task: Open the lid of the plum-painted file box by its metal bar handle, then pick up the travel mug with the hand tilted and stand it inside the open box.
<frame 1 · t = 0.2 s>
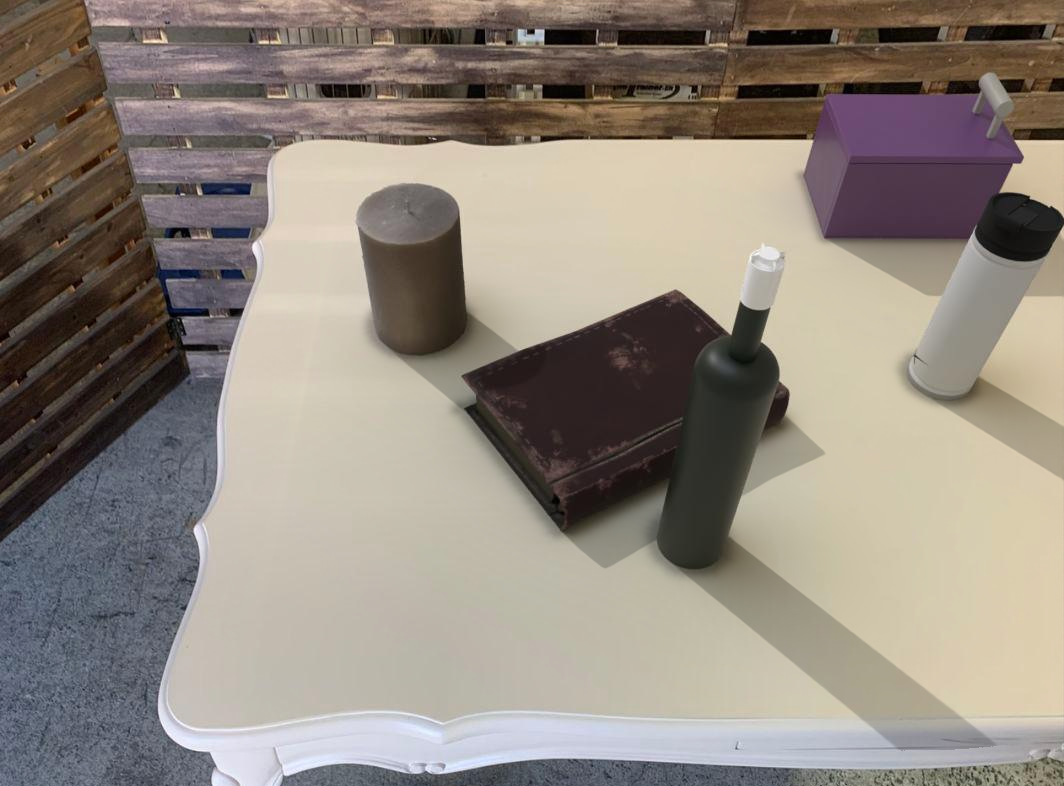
diary: (619, 419, 87), on the table
file box: (885, 210, 107), on the table
pillar candle: (420, 328, 94), on the table
travel mug: (935, 384, 90), on the table
lid: (927, 109, 97), point 12 cm above the table, hinge at 0.0°
wine bottle: (688, 546, 78), on the table
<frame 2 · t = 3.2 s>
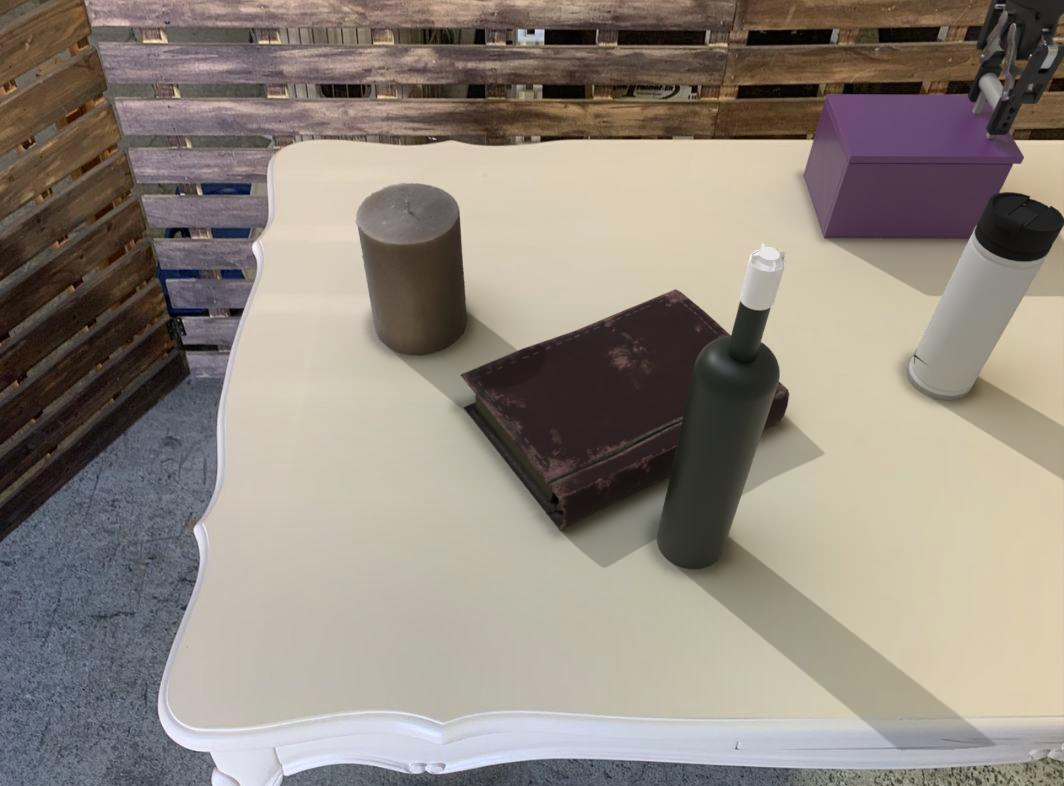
hand: (986, 115, 97), 12 cm above the table, tool pointing down, fingers closed on lid, 6 cm apart
lid: (927, 109, 97), point 12 cm above the table, hinge at 0.0°, touching gripper
everything else where it was.
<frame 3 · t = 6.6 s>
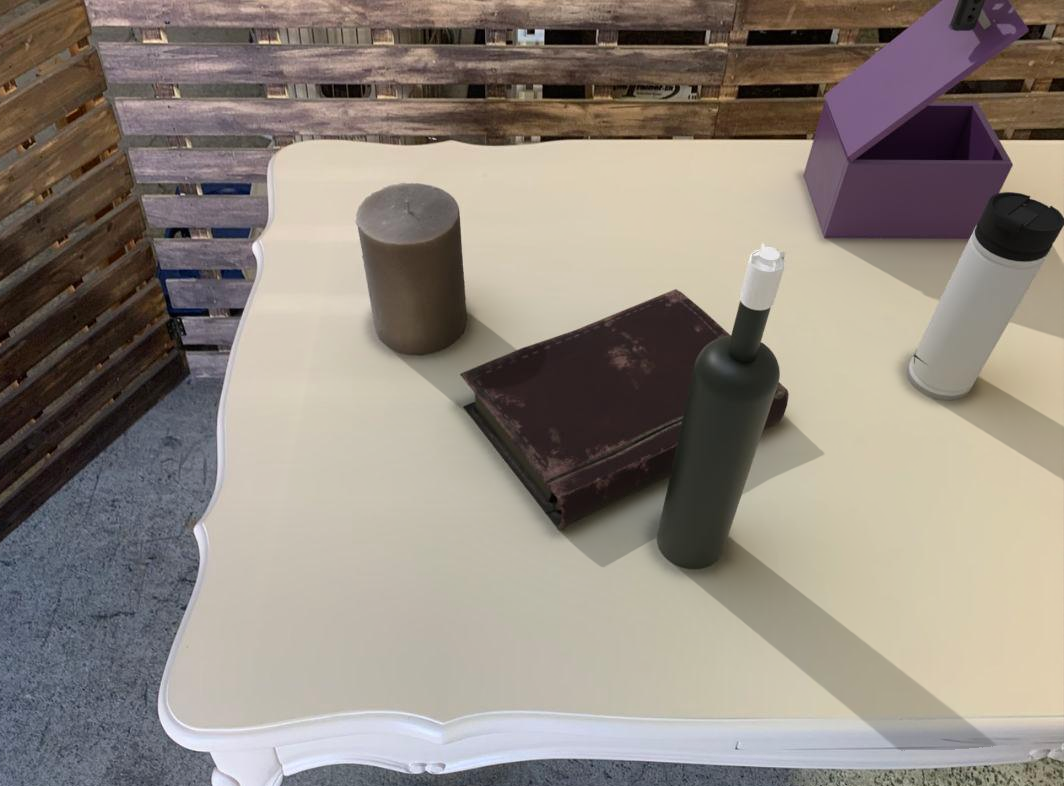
hand: (951, 12, 89), 22 cm above the table, tool pointing down, fingers closed on lid, 6 cm apart
lid: (907, 51, 92), point 18 cm above the table, hinge at 46.5°, touching gripper
everything else where it was.
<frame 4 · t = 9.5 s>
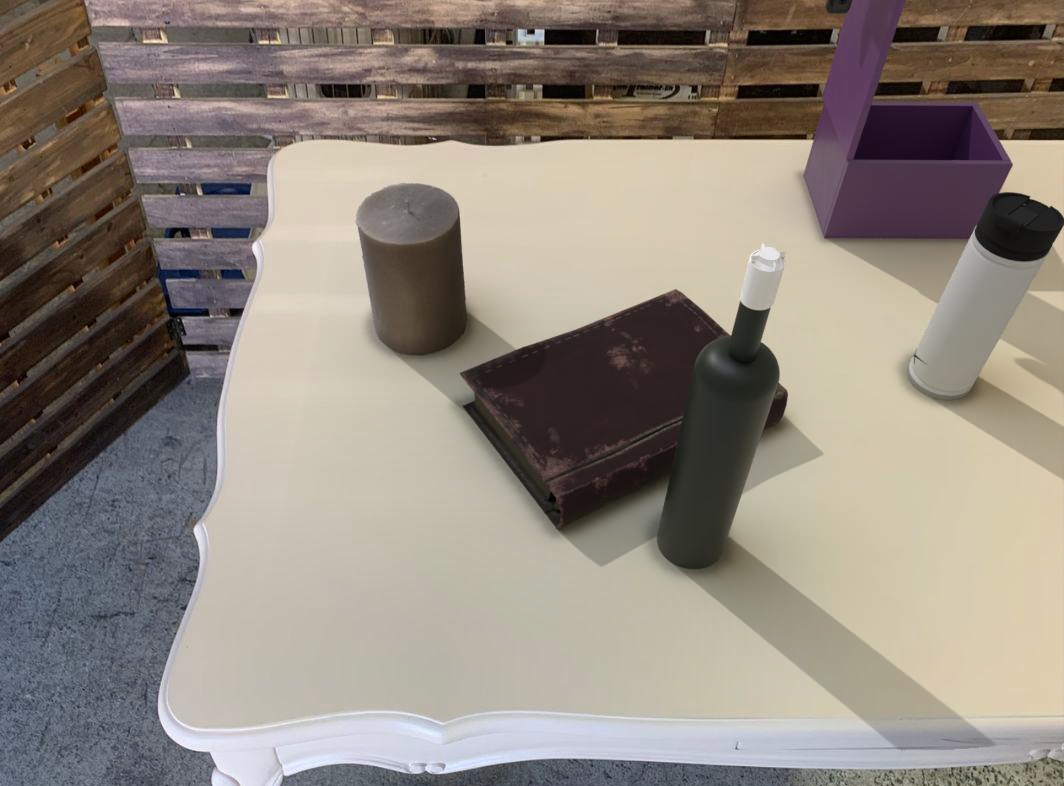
lid: (842, 40, 91), point 19 cm above the table, hinge at 90.1°, touching gripper
everything else where it was.
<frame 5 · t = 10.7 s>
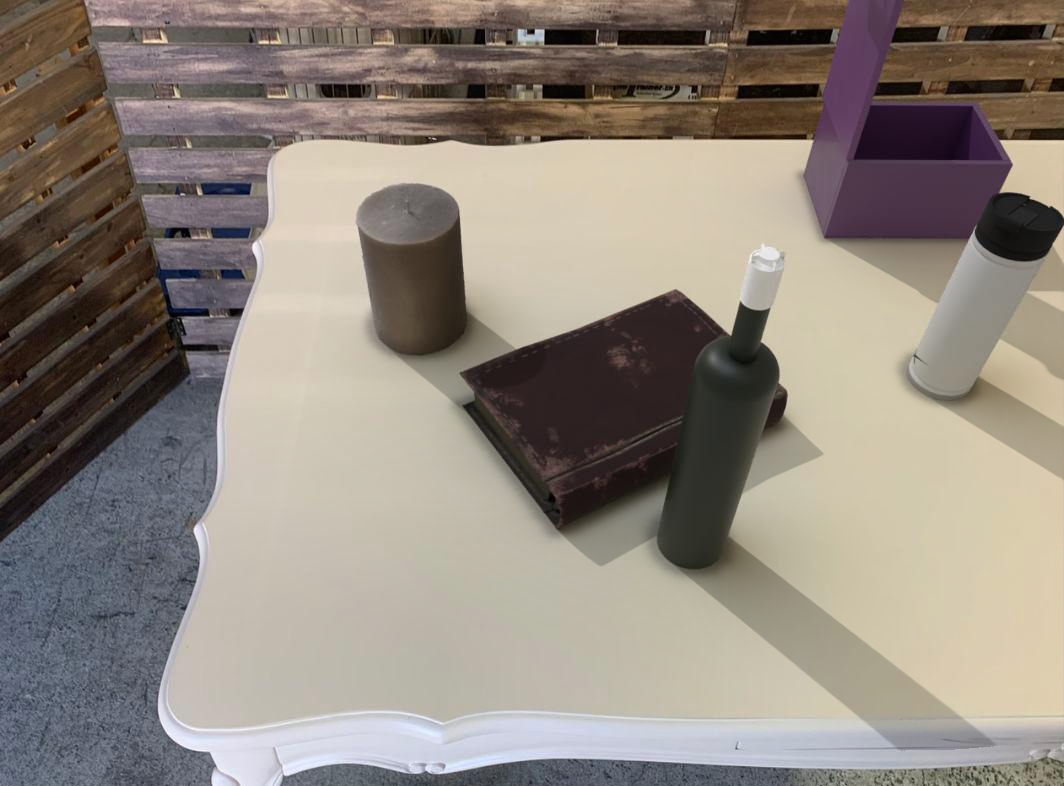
lid: (842, 40, 91), point 19 cm above the table, hinge at 90.4°, touching gripper
everything else where it was.
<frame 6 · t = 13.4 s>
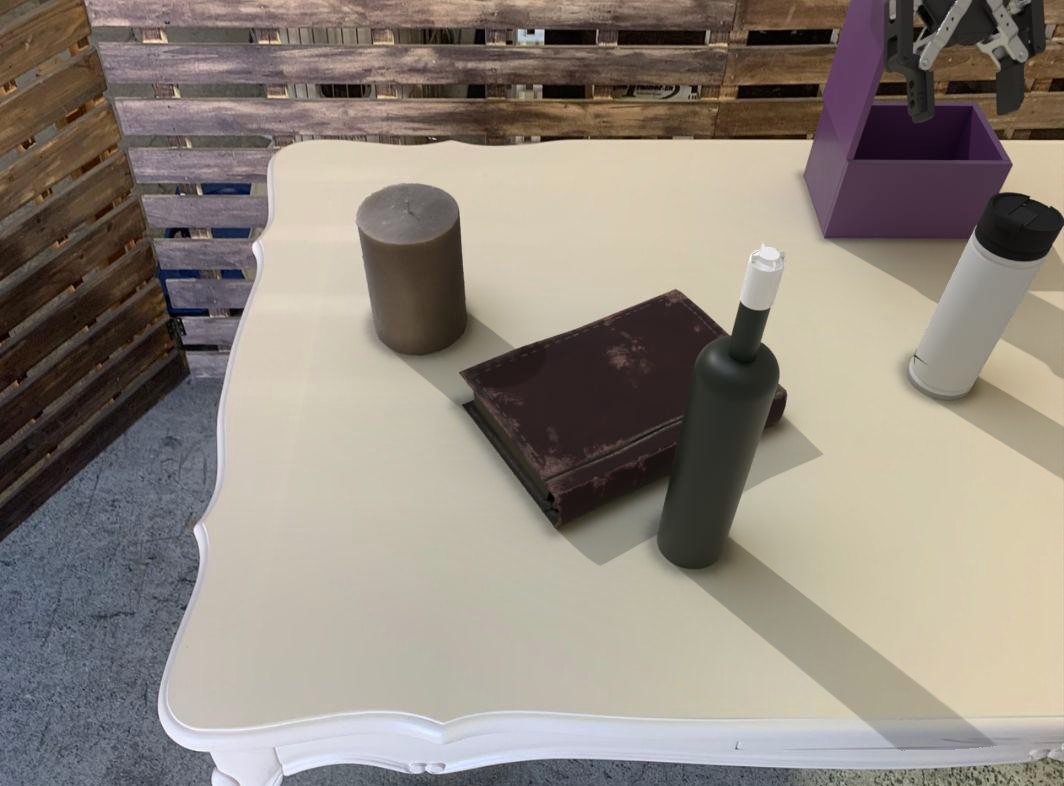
hand: (966, 116, 80), 21 cm above the table, tool tilted 45°, fingers open, 8 cm apart
lid: (844, 39, 91), point 19 cm above the table, hinge at 89.4°
everything else where it was.
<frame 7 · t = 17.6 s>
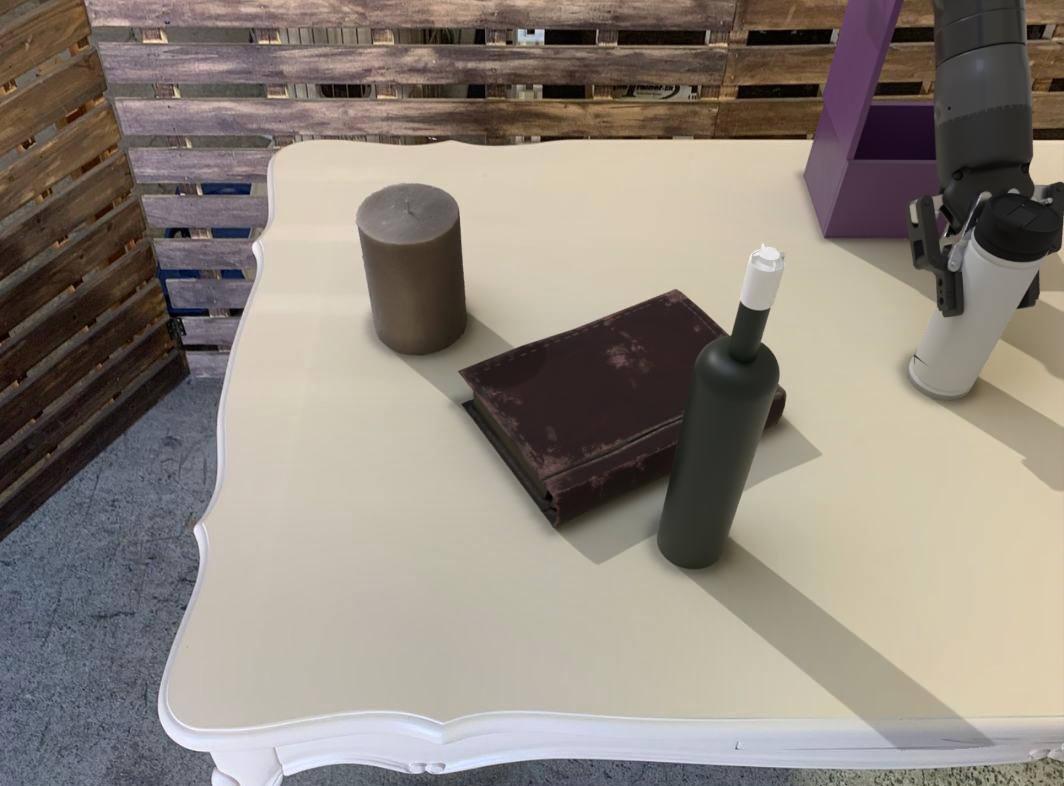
hand: (989, 311, 80), 10 cm above the table, tool tilted 45°, fingers closed on travel mug, 6 cm apart
travel mug: (935, 384, 90), on the table, touching gripper
lid: (841, 40, 91), point 19 cm above the table, hinge at 90.7°
everything else where it was.
when the fingers open (11 cm above the table, at t = 29.6 s): travel mug stays where it is, resting on file box.
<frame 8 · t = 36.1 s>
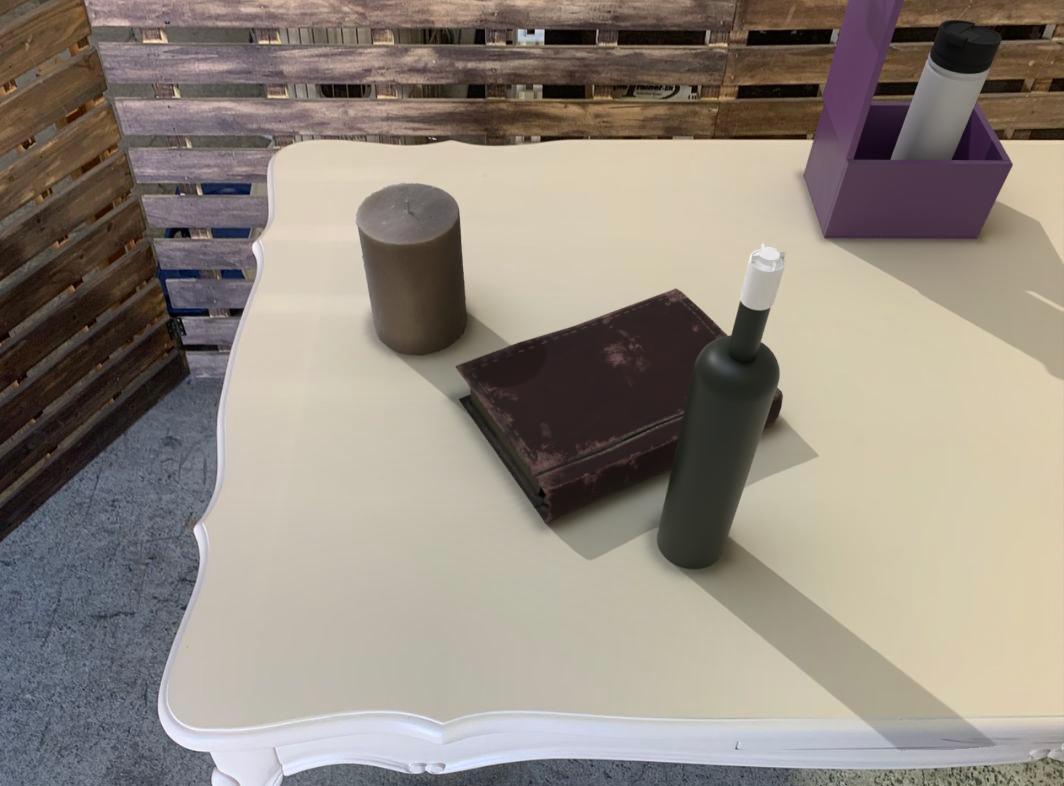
travel mug: (902, 204, 106), point 1 cm above the table, touching file box
everything else where it was.
at the end: lid at +91° (first picture: +0°); travel mug inside the target area in the file box (1.8 cm from its centre), point 0.6 cm above the file box's base; travel mug tilted 0° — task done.
